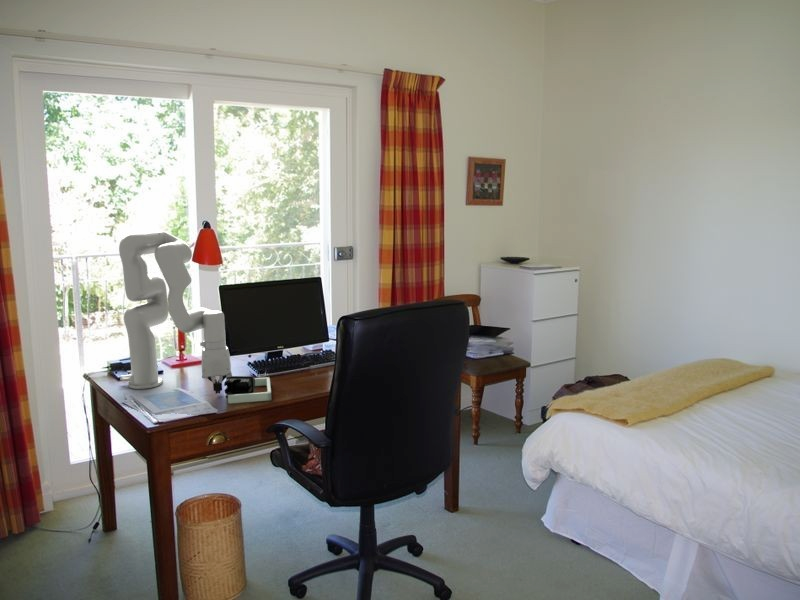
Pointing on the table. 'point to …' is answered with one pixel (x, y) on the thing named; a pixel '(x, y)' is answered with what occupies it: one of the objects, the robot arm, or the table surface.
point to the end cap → (239, 385)
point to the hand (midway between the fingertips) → (218, 392)
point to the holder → (253, 396)
